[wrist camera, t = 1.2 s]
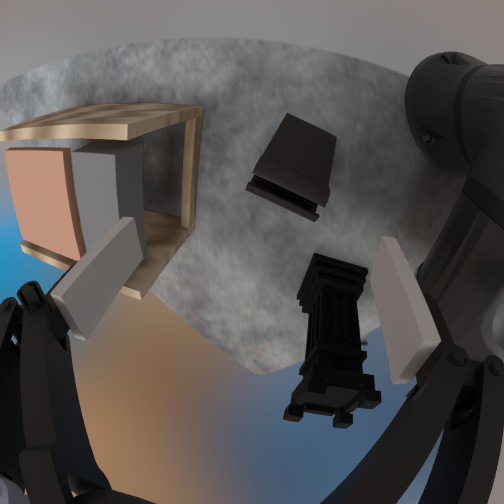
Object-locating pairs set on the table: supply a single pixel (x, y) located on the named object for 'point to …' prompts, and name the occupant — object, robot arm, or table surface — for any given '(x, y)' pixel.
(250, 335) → the table surface
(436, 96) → the robot arm
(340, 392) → the chess piece
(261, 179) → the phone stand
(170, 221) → the frame
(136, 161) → the trapdoor
